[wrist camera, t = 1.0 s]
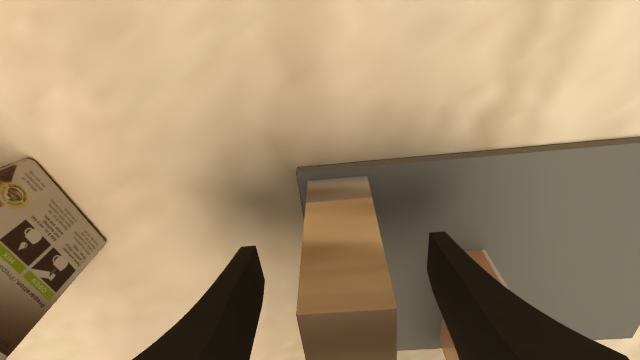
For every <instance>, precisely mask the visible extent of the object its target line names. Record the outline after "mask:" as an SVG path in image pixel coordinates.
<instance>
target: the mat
mask: <svg viewBox="0 0 640 360" xmlns="http://www.w3.org/2000/svg"><path fill="white" fill-rule="evenodd" d="M358 176H367V177H368V182H369V186H370V190H371V195H372V199H373V204H374V208H375V213H376V217H377V222H378V226H379V230H380V235H381V239H382V244H383V248H384V253H385V257H386V262H387V266H388V270H389V275H390V279H391V284H392V288H393V293H394V297H395V301H396V306H397V351H399V350H417V349H436V348H442V346H441V343H440V340H439V339H440V330H441V321H442V314H441V312H440V309H439V307H438V304H437V302H436V299H435V297H434V294H433V291H432V288H431V284H430V280H429V276H428V273H427V257H428V244H429V233H430V232H444V231H445V232H446V233H447V234H448V235H449V236H450V237H451V238H452V239H453V240H454V241H455V242H456V243H457V244H458V245H459V246H460V247H461V248H462V249H463V250H464V251H473V250H486V252H487V254H488V255H489V257H490V259H491V260H492V262H493V263H494V265H495V267H496V268H497V270H498V272H499V273H500V275H501V277H502V278H503V280H504V282H505V283H506V285H507V286H508V288H509V290H510V291H512V292H513V293H514V294H516V295H517V296H519V297H520V298H521V299H523V300H524V301H526V302H527V303H529V304H530V305H532V306H533V307H535V308H536V309H538V310H540V311H541V312H543V313H544V314H546V315H548V316H549V317H551V318H552V319H554V320H556V321H558V322H559V323H561V324H563V325H565V326H566V327H568V328H570V329H572V330H574V331H576V332H578V333H580V334H581V335H583V336H585V337H587V338H589V339H591V340H603V339H622V338H632V337H633V336H634V334H635V332H636V330H637V328H638V327H639V325H640V137H634V138H623V139H612V140H601V141H589V142H578V143H567V144H556V145H545V146H533V147H522V148H511V149H500V150H488V151H477V152H466V153H455V154H443V155H432V156H421V157H410V158H398V159H387V160H376V161H365V162H353V163H342V164H331V165H320V166H308V167H297V179H298V185H299V192H300V198H301V204H302V210H303V216H304V219H305V207H306V195H307V183H308V181H312V180H324V179H335V178H347V177H358Z"/></svg>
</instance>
